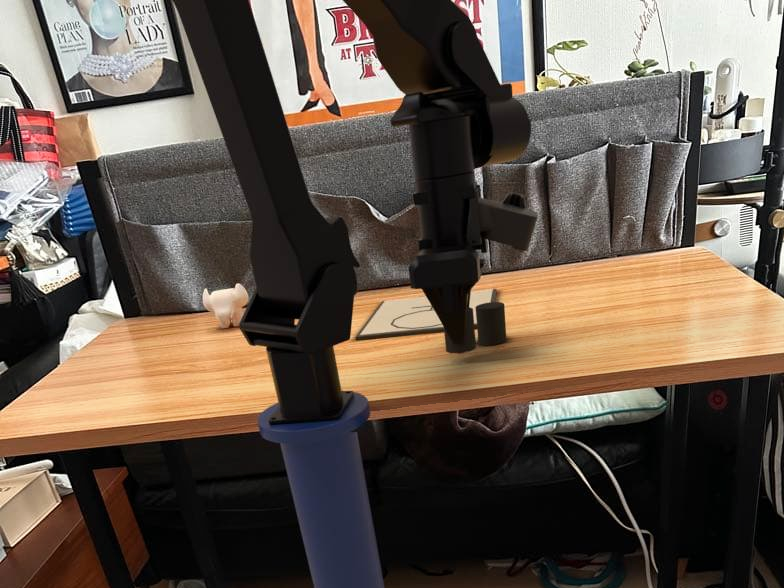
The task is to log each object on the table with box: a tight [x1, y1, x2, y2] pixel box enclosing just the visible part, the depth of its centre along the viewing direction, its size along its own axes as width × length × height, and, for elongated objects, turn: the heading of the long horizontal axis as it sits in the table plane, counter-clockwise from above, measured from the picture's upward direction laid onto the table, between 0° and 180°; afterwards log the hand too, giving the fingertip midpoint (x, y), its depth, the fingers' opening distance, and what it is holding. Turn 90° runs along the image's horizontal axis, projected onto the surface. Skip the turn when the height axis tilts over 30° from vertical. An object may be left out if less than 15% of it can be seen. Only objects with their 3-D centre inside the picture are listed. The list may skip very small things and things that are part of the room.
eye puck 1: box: [443, 307, 477, 354], centre depth 76 cm, size 3×3×4 cm
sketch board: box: [355, 288, 498, 341], centre depth 98 cm, size 20×17×1 cm
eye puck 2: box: [476, 301, 507, 346], centre depth 81 cm, size 3×3×4 cm
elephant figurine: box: [202, 283, 250, 329], centre depth 107 cm, size 7×8×6 cm
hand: (460, 339), depth 76 cm, fingers closed on eye puck 1, 3 cm apart
